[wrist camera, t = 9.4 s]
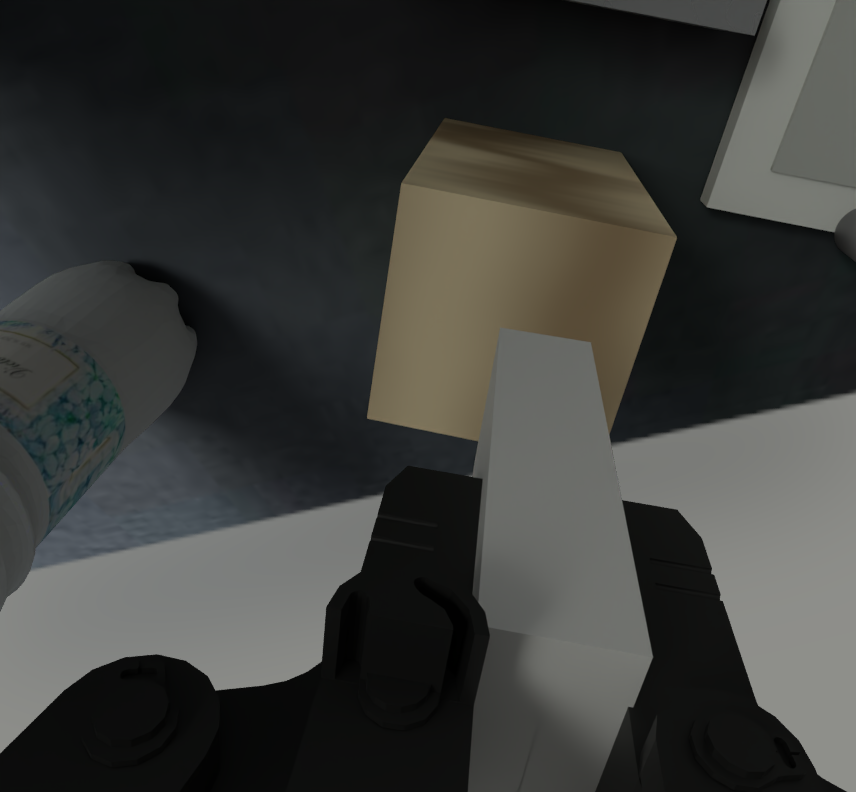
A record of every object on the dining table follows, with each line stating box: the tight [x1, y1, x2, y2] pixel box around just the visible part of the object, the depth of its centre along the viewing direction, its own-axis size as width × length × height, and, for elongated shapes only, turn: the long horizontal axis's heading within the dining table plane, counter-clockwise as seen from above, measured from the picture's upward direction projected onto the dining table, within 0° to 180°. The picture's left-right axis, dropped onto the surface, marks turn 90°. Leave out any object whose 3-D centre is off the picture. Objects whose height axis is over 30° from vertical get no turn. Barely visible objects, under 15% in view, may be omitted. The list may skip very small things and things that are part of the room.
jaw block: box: [367, 118, 677, 441], centre depth 21 cm, size 6×6×10 cm
